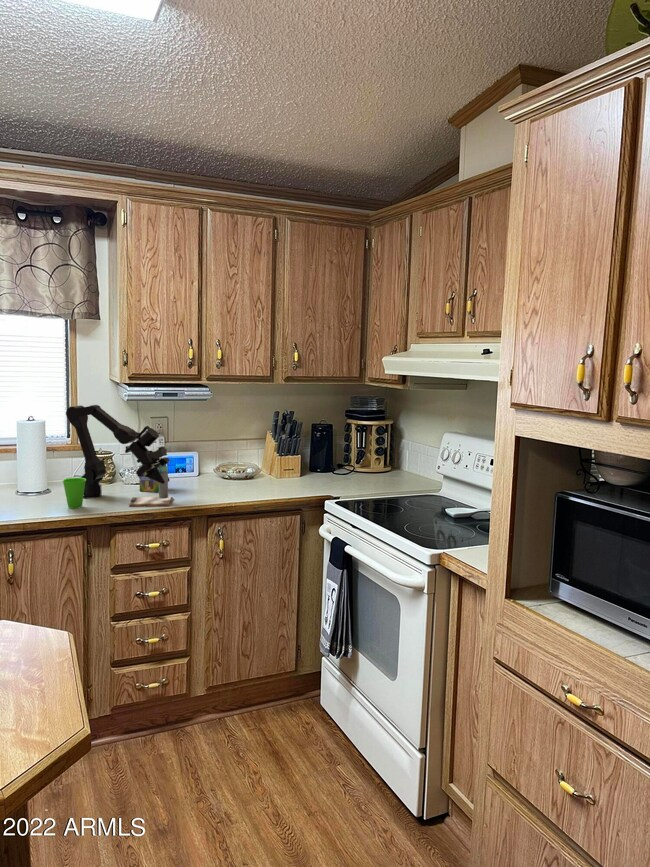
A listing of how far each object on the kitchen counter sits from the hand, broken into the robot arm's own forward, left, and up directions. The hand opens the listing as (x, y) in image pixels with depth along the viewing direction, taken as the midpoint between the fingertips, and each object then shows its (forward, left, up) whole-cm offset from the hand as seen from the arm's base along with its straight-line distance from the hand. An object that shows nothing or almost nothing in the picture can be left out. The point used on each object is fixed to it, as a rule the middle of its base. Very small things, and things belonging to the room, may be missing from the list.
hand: (166, 482), depth 270 cm
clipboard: (-6, +2, -9) cm, 11 cm away
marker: (-1, +1, -7) cm, 7 cm away
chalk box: (-8, +26, -9) cm, 28 cm away
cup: (-35, -4, -9) cm, 37 cm away
